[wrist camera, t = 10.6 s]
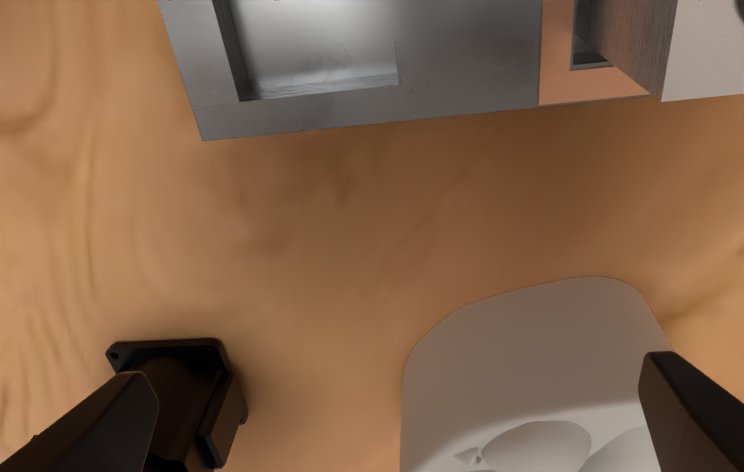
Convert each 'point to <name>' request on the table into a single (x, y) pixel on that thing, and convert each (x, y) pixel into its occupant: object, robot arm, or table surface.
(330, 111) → the grey flat block
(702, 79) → the block
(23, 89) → the table surface
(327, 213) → the table surface
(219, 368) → the robot arm
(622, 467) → the lumpy-topped squat cylinder
